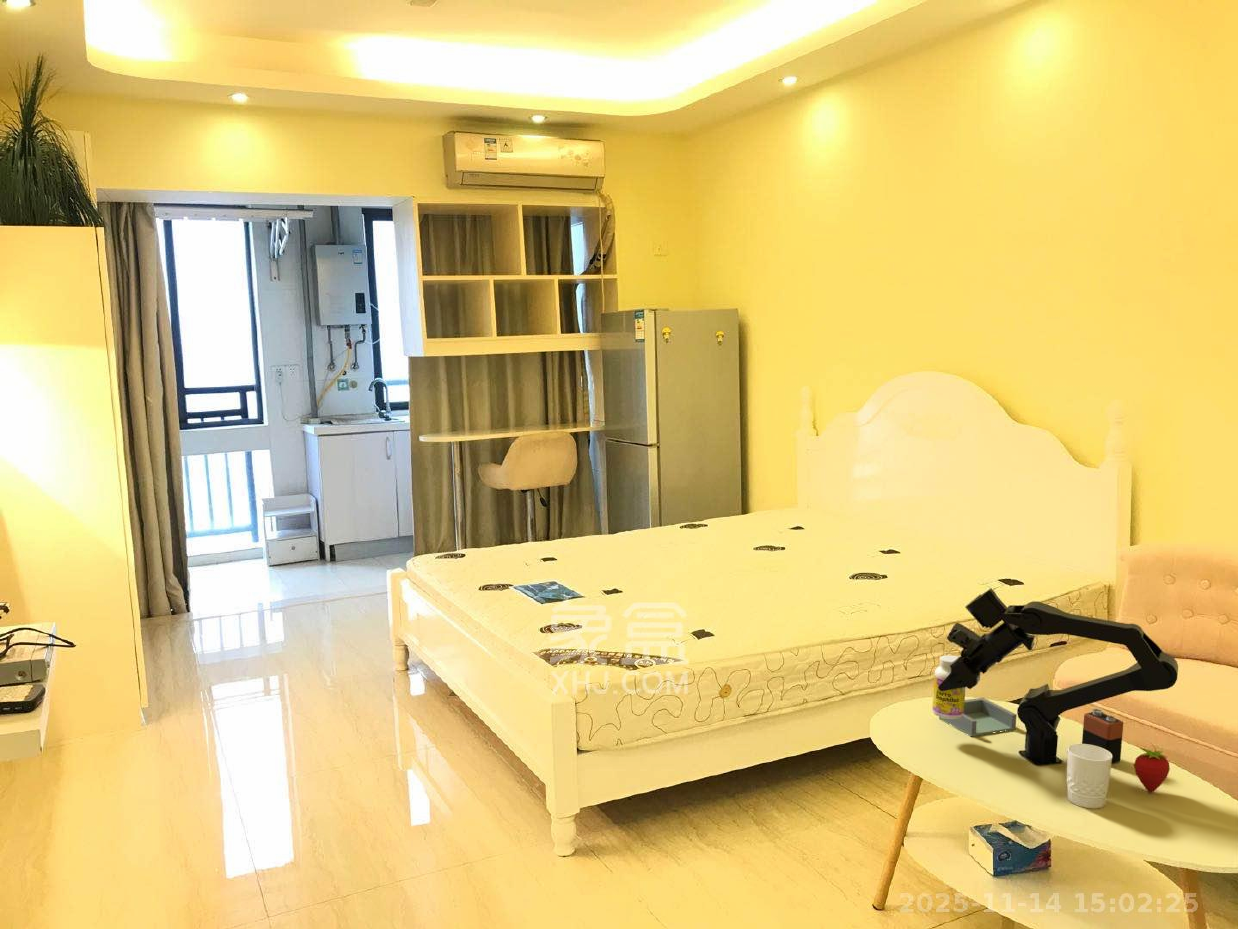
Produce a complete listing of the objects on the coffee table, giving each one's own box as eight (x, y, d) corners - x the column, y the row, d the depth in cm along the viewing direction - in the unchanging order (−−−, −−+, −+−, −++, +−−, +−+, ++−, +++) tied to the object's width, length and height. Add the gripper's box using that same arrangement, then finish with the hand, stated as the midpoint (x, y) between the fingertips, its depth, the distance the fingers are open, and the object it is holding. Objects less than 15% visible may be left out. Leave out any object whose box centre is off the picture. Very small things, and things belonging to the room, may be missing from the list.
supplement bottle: (929, 716, 225) (932, 660, 223) (935, 706, 231) (938, 651, 229) (960, 722, 222) (963, 665, 220) (966, 712, 227) (969, 656, 226)
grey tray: (1015, 729, 233) (1016, 714, 232) (971, 737, 228) (972, 721, 228) (981, 712, 243) (982, 697, 242) (938, 718, 239) (939, 703, 238)
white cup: (1117, 805, 197) (1121, 755, 195) (1090, 814, 193) (1095, 763, 191) (1080, 788, 204) (1084, 740, 202) (1054, 797, 200) (1058, 748, 198)
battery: (1094, 750, 222) (1098, 706, 221) (1121, 762, 216) (1125, 717, 214) (1079, 753, 220) (1083, 709, 219) (1106, 766, 214) (1110, 720, 213)
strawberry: (1125, 791, 202) (1129, 743, 201) (1143, 781, 207) (1148, 734, 205) (1155, 803, 198) (1160, 754, 196) (1173, 792, 202) (1178, 744, 201)
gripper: (980, 604, 229) (928, 644, 236) (962, 625, 213) (907, 667, 220) (1015, 644, 226) (961, 683, 233) (1000, 668, 210) (942, 709, 217)
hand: (943, 684), depth 226 cm, fingers closed on supplement bottle, 7 cm apart
